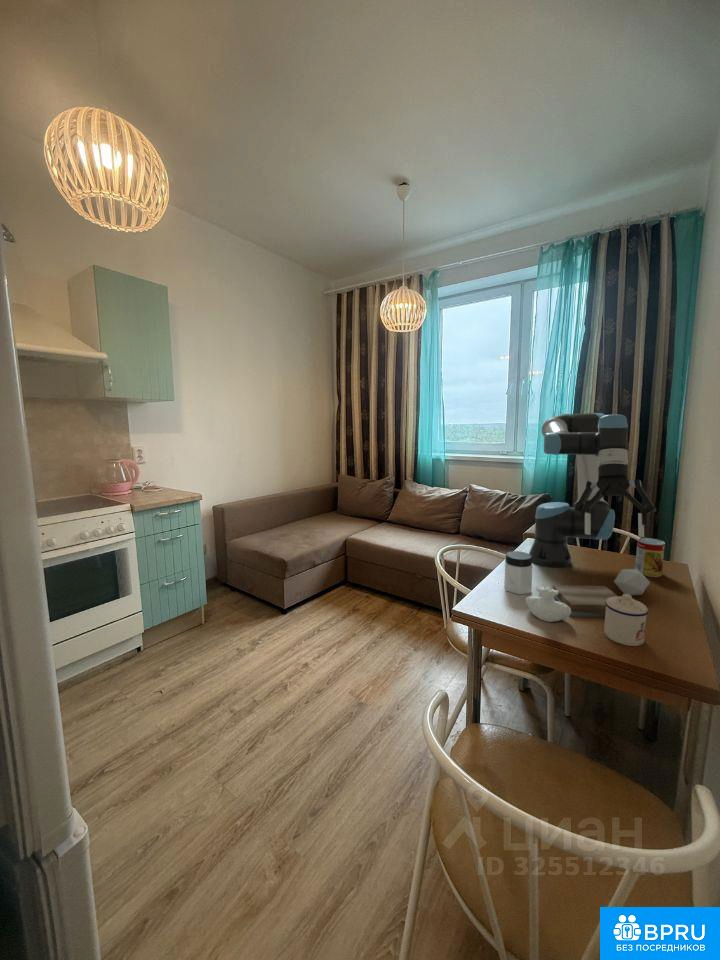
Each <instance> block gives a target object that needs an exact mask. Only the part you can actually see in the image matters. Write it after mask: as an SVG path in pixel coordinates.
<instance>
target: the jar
mask: <svg viewBox="0 0 720 960" xmlns="http://www.w3.org/2000/svg"><path fill="white" fill-rule="evenodd" d="M532 582H533V562H532V556H531V555H530V554H529V553H528V552H523V551H518V550H516V551H515V550H512V551H508V552H506V553H505V560H504V583H503V584H504V588H505V591H506V592H508V591H509V593H512V592H513V593H512V594H515V593H516V594H515V595H519V594H521V595H526V593H527V594H531V593H532V586H533V585H532V584H533V583H532Z"/></svg>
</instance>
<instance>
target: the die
mask: <svg viewBox="0 0 720 960" xmlns="http://www.w3.org/2000/svg"><path fill="white" fill-rule="evenodd" d="M613 583H614V584H615V585H616V586H617V587H618V588H619V589H620V591H621V592H622V593H623V594H629V595H631V596H640V595H641V596H642V595H643V594H644V592H645V590H646V589H647V587H648V586H649V585H650V580H649V579H648V577H647V576H644V575H643V574H642V573H641V572H640V571H639V570H638V569H635V568H622V569H620V571H619V573H618V575H617V576H616V577H615V580H614V581H613Z"/></svg>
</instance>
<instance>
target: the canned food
mask: <svg viewBox="0 0 720 960" xmlns="http://www.w3.org/2000/svg"><path fill="white" fill-rule="evenodd" d="M665 547H666V542H665V541H664V540H661V539H657V538H650V537H639V538H638V539H637V544H636V555H635V556H636V557H635V566H634V567H635V568H634V569H638V570H639V571H640V572H641V573H642V574H643V575H644V576H645V577H648V578H660V577H662V576H663V566H664V558H665Z"/></svg>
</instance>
